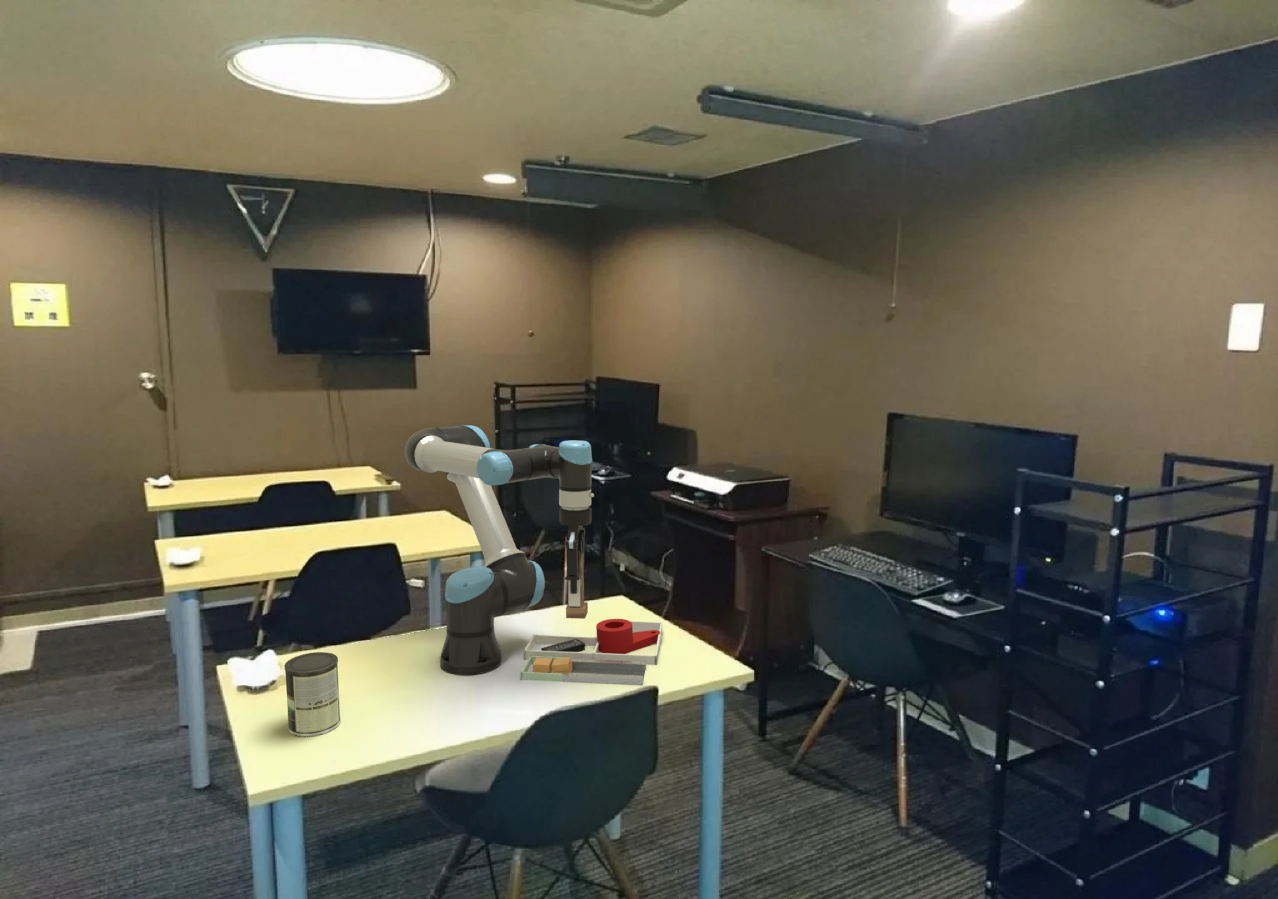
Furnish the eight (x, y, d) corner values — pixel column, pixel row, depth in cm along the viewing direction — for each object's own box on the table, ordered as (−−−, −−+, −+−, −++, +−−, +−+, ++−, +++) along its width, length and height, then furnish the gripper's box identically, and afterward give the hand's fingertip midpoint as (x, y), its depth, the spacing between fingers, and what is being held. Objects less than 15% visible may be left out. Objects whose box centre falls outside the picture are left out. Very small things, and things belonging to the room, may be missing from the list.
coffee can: (276, 731, 164) (272, 666, 162) (314, 710, 174) (311, 648, 172) (315, 741, 160) (311, 675, 158) (351, 719, 170) (348, 656, 168)
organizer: (524, 662, 200) (523, 650, 200) (543, 628, 224) (543, 617, 224) (656, 667, 197) (656, 656, 197) (662, 632, 221) (662, 622, 221)
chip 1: (532, 676, 191) (532, 664, 191) (536, 669, 195) (536, 657, 195) (549, 677, 191) (548, 665, 190) (552, 670, 195) (552, 658, 194)
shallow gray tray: (562, 684, 187) (562, 675, 187) (569, 667, 197) (569, 658, 197) (642, 688, 186) (642, 679, 185) (645, 670, 196) (645, 661, 195)
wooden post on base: (584, 618, 188) (583, 557, 186) (566, 618, 188) (564, 556, 186) (587, 612, 192) (586, 551, 190) (569, 611, 193) (568, 551, 190)
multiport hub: (540, 656, 203) (540, 647, 203) (576, 646, 210) (576, 638, 210) (549, 662, 200) (549, 653, 200) (585, 652, 207) (585, 643, 206)
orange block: (553, 677, 191) (551, 665, 190) (556, 670, 195) (554, 658, 194) (569, 675, 190) (567, 663, 190) (572, 668, 194) (570, 657, 194)
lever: (606, 659, 202) (605, 634, 201) (591, 647, 210) (590, 623, 209) (668, 644, 210) (667, 620, 209) (651, 633, 218) (650, 610, 217)
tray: (520, 682, 188) (520, 672, 188) (530, 665, 198) (529, 656, 198) (562, 684, 187) (562, 674, 187) (569, 667, 197) (569, 657, 197)
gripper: (586, 514, 178) (586, 615, 181) (596, 500, 194) (596, 593, 197) (553, 513, 179) (553, 614, 182) (565, 499, 195) (566, 592, 198)
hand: (575, 603), depth 190 cm, fingers closed on wooden post on base, 3 cm apart
